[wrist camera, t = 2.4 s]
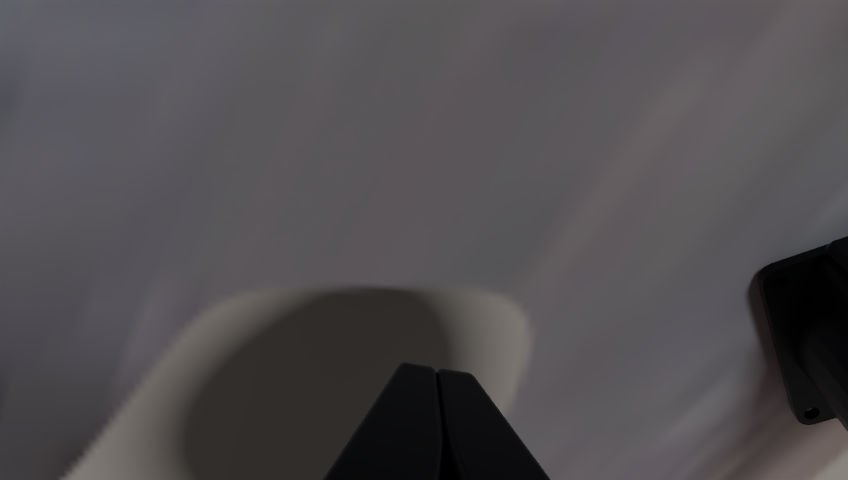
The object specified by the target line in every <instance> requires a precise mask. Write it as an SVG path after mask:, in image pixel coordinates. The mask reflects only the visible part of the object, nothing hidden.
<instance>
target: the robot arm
mask: <svg viewBox="0 0 848 480" xmlns="http://www.w3.org/2000/svg"><path fill="white" fill-rule="evenodd" d="M778 276H783V277H782V279H781V280H780V281H779V282H777V283H774V284H771V282H772V281H773V280H774V279H775V278H776V277H778ZM758 284H759V288H760V292H761V296H762V300H763V304H764V307H765V311H766V315H767V319H768V323H769V326H770V330H771V334H772V338H773V342H774V346H775V349H776V353H777V357H778V361H779V365H780V368H781V372H782V376H783V380H784V384H785V388H786V391H787V395H788V399H789V403H790V407H791V410H792V412H793V414H794V415H795V417H796V418H797V420H798V421H799V422H800V423H802V424H806V425H812V424H816V423H820V422H823V421H827V420H830V419H833V418H838V419H839V421H840V422H841V423H842V425H843V426H844V427H845V429H846V430H847V431H848V236H847V237H844V238H841V239H838V240H835V241H833V242H831V243H830V244H827V245H824V246H821V247H818V248H815V249H812V250H809V251H807V252H804V253H801V254H798V255H795V256H792V257H789V258H786V259H783V260H780V261H777V262H774V263H771V264H769V265H767V266H765V267H764V268H763V269H762V270H761V271H760V273H759V275H758ZM809 408H812V409H811V410H809V411H806V410H807V409H809ZM323 480H550V478H549V477H548V476H547V474H546V473H545V472H544V470H543V469H542V468H541V466H540V465H539V463H538V462H537V461H536V459H535V458H534V457H533V455H532V454H531V453H530V451H529V450H528V449H527V447H526V446H525V445H524V443H523V442H522V440H521V439H520V438H519V436H518V435H517V434H516V432H515V431H514V430H513V428H512V427H511V426H510V424H509V423H508V422H507V420H506V419H505V417H504V416H503V415H502V413H501V412H500V411H499V409H498V408H497V407H496V405H495V404H494V403H493V401H492V400H491V399H490V397H489V396H488V395H487V393H486V392H485V390H484V389H483V388H482V386H481V385H480V384H479V382H478V381H477V380H476V378H475V377H474V376H473V375H472V374H470V373H467V372H460V371H455V370H449V369H439V370H438V371H437V372H436V371H435V369H433V368H432V367H430V366H425V365H419V364H413V363H408V362H403V363H401V364H400V365H399V366H398V367H397V368H396V370H395V371H394V373H393V375H392V376H391V378H390V379H389V381H388V382H387V384H386V385H385V387H384V388H383V390H382V391H381V393H380V394H379V396H378V397H377V399H376V400H375V402H374V403H373V405H372V406H371V408H370V409H369V411H368V412H367V414H366V415H365V417H364V418H363V420H362V421H361V423H360V424H359V426H358V427H357V429H356V430H355V432H354V433H353V435H352V436H351V438H350V439H349V441H348V442H347V444H346V446H345V447H344V448H343V450H342V451H341V453H340V454H339V456H338V457H337V459H336V460H335V462H334V463H333V465H332V466H331V468H330V469H329V471H328V472H327V474H326V475H325V477H324V479H323Z"/></svg>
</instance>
